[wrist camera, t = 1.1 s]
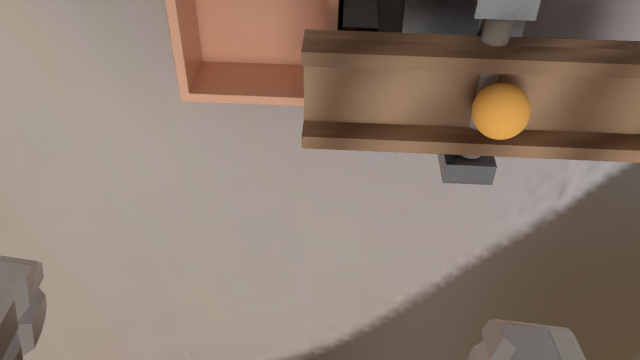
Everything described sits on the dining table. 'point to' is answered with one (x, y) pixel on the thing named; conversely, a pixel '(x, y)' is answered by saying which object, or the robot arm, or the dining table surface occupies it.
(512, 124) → the ball
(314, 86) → the brown wooden tray
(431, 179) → the dining table surface
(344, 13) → the stand
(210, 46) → the pink open box
